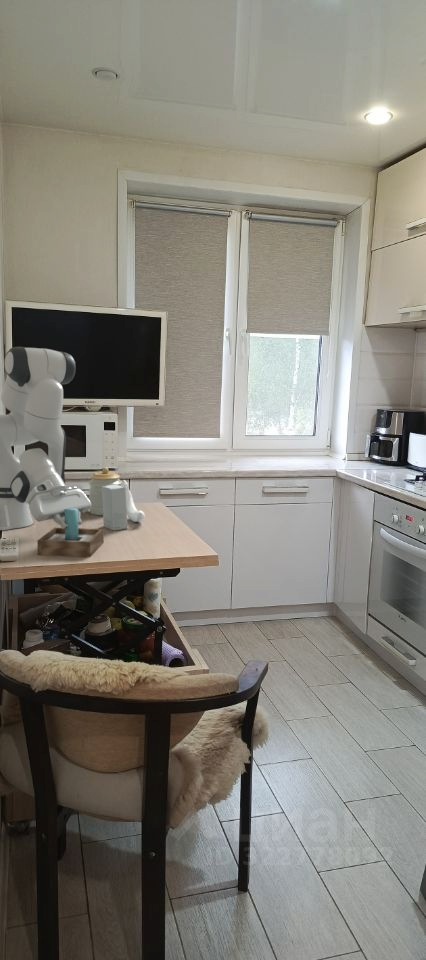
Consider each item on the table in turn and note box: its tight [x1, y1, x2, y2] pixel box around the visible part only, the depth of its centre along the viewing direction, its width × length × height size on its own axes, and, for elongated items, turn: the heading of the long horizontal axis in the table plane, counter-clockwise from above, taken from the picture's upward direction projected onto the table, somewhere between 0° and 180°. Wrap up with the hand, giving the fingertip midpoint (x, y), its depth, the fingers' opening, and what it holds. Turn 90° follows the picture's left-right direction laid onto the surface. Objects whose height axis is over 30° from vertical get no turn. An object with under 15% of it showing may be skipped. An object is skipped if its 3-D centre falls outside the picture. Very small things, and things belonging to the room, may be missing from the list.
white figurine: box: [122, 479, 146, 523], centre depth 235 cm, size 5×19×15 cm, turn 29°
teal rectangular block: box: [64, 508, 79, 541], centre depth 199 cm, size 4×4×11 cm
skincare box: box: [102, 485, 128, 531], centre depth 226 cm, size 8×6×15 cm
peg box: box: [37, 527, 105, 558], centre depth 199 cm, size 16×16×4 cm
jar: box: [88, 466, 123, 516], centre depth 250 cm, size 13×13×18 cm
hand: (72, 525), depth 198 cm, fingers closed on teal rectangular block, 4 cm apart
